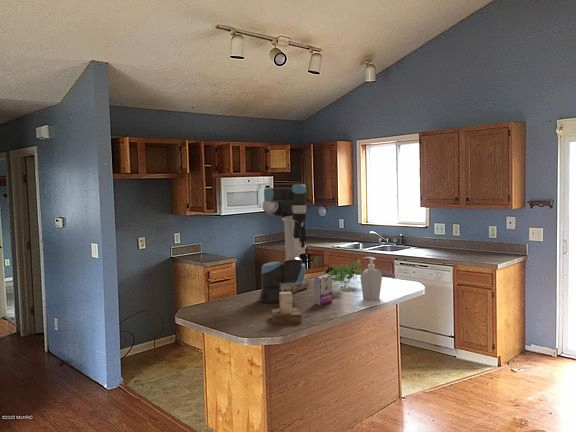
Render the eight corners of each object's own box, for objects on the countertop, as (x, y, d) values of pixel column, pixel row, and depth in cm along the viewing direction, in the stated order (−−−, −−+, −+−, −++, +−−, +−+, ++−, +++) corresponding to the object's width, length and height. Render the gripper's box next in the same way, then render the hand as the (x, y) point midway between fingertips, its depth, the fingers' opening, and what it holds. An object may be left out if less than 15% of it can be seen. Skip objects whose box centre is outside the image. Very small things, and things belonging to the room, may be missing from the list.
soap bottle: (367, 295, 323) (368, 255, 321) (382, 297, 317) (382, 256, 315) (357, 299, 314) (357, 257, 312) (372, 301, 307) (372, 259, 305)
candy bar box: (325, 300, 311) (325, 274, 310) (332, 302, 307) (332, 275, 306) (314, 304, 303) (314, 277, 301) (320, 305, 299) (320, 278, 298)
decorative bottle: (300, 287, 350) (300, 277, 349) (309, 288, 346) (309, 279, 345) (278, 294, 329) (278, 284, 328) (288, 296, 324) (288, 286, 324)
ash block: (279, 310, 272) (279, 292, 271) (290, 310, 273) (290, 291, 272) (281, 313, 266) (280, 294, 265) (292, 313, 267) (292, 294, 266)
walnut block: (271, 318, 276) (271, 309, 275) (296, 316, 278) (296, 307, 277) (274, 325, 262) (274, 316, 261) (301, 324, 264) (301, 314, 264)
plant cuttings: (366, 295, 352) (344, 273, 361) (380, 278, 345) (357, 256, 354) (341, 306, 323) (317, 282, 333) (355, 287, 316) (331, 263, 326)
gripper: (287, 211, 289) (288, 248, 290) (297, 214, 264) (298, 255, 266) (300, 211, 290) (301, 248, 292) (311, 214, 266) (312, 254, 267)
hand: (299, 251), depth 279 cm, fingers open, 13 cm apart
